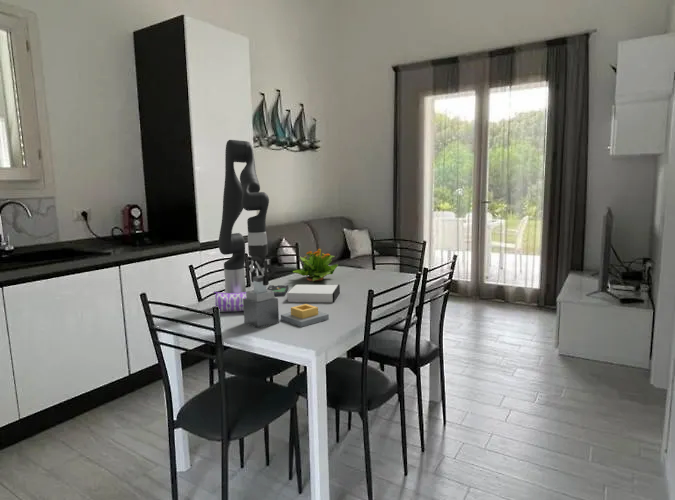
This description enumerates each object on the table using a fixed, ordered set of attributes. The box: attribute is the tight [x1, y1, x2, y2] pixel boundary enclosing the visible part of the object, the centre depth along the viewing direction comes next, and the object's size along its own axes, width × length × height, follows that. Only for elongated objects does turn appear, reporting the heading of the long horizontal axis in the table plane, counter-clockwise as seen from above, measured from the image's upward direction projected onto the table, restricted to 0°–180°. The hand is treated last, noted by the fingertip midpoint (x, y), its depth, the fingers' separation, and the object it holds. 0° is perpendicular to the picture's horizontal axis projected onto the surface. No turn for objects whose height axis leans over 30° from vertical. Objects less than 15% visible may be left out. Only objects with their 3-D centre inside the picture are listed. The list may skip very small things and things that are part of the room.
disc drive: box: [286, 284, 341, 303], centre depth 221 cm, size 18×22×5 cm
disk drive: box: [266, 284, 290, 297], centre depth 233 cm, size 10×3×15 cm
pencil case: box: [213, 290, 247, 313], centre depth 201 cm, size 22×9×10 cm, turn 103°
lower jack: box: [280, 303, 330, 328], centre depth 186 cm, size 14×14×5 cm
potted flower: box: [292, 248, 339, 283], centre depth 261 cm, size 25×24×18 cm
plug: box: [252, 274, 267, 294], centre depth 181 cm, size 4×4×9 cm
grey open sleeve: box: [243, 288, 280, 329], centre depth 182 cm, size 10×10×13 cm
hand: (259, 283), depth 181 cm, fingers open, 8 cm apart
